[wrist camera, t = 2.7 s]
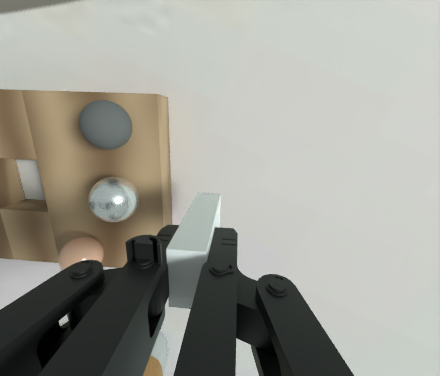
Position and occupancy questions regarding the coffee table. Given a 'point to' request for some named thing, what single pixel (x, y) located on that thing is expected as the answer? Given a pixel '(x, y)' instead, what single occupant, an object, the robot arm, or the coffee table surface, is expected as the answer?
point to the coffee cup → (157, 357)
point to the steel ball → (113, 199)
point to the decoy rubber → (105, 124)
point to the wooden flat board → (79, 173)
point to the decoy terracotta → (80, 251)
